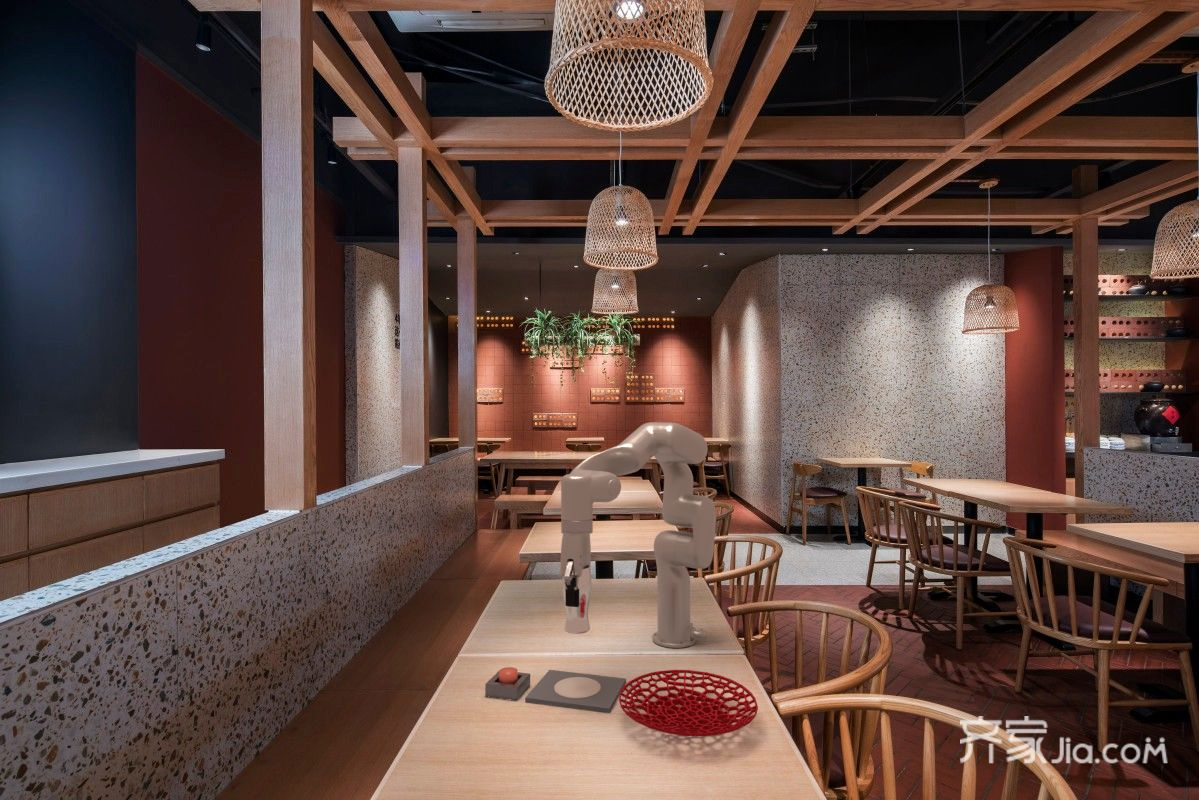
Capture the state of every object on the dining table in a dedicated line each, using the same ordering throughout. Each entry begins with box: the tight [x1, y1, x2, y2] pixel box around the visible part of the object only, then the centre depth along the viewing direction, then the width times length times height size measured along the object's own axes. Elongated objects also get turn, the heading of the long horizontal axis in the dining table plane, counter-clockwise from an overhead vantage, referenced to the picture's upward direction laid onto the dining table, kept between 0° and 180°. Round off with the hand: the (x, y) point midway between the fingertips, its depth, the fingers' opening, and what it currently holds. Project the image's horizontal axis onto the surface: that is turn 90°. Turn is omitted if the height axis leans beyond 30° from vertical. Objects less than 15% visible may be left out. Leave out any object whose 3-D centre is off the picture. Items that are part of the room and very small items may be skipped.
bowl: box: [618, 669, 759, 737], centre depth 133 cm, size 29×29×5 cm
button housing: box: [484, 670, 531, 702], centre depth 148 cm, size 8×8×3 cm
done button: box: [498, 666, 519, 684], centre depth 148 cm, size 4×4×3 cm
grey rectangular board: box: [524, 669, 627, 714], centre depth 147 cm, size 20×16×1 cm
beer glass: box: [561, 564, 593, 635], centre depth 148 cm, size 7×7×15 cm
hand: (577, 601), depth 148 cm, fingers closed on beer glass, 6 cm apart
